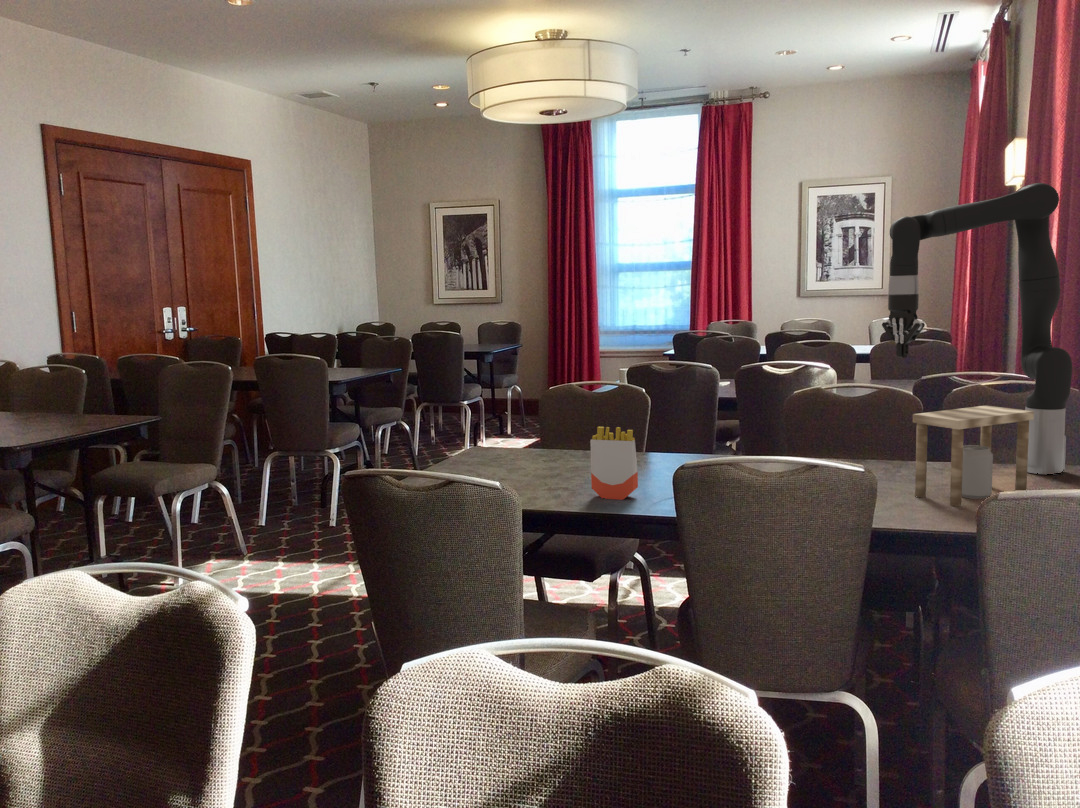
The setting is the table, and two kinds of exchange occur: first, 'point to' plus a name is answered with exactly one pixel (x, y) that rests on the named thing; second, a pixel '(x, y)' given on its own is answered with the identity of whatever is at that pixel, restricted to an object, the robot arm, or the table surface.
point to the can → (977, 471)
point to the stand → (958, 423)
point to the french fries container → (613, 464)
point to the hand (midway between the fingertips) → (902, 357)
